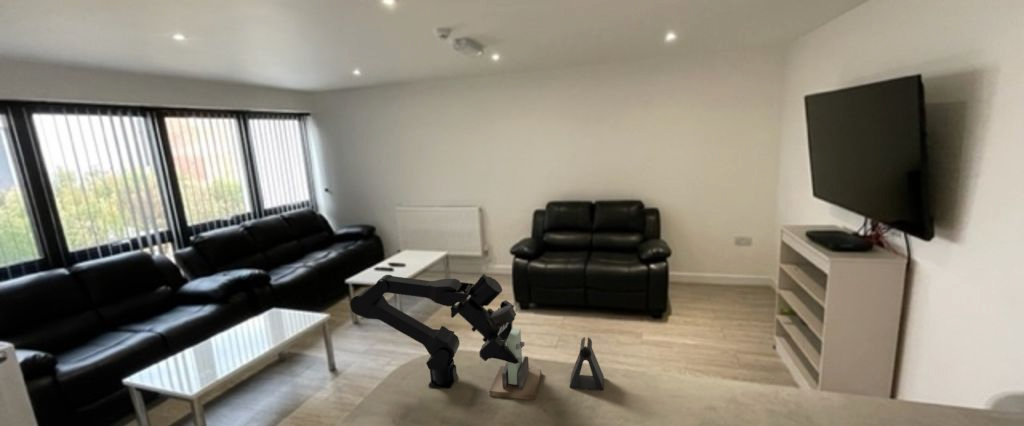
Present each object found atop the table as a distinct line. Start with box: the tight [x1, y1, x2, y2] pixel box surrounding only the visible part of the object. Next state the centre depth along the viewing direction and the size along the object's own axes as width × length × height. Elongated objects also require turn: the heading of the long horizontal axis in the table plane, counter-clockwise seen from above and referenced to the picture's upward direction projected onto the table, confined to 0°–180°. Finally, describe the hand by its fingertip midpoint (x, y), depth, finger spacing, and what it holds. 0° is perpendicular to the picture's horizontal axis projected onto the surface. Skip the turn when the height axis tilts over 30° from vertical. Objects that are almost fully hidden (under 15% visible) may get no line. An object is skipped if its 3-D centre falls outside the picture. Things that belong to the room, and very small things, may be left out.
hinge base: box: [488, 356, 542, 401], centre depth 117 cm, size 12×12×6 cm
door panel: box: [506, 328, 525, 385], centre depth 116 cm, size 3×7×12 cm, turn 167°
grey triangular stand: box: [569, 337, 605, 391], centre depth 115 cm, size 9×6×12 cm, turn 77°
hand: (519, 355), depth 115 cm, fingers closed on door panel, 7 cm apart
